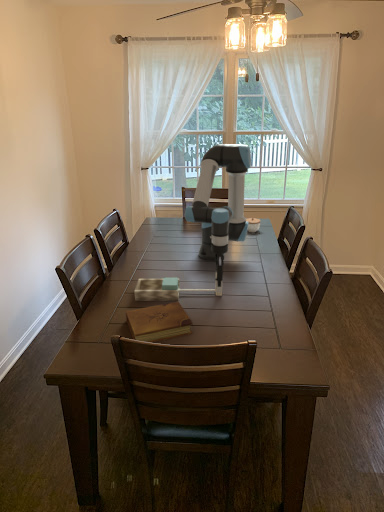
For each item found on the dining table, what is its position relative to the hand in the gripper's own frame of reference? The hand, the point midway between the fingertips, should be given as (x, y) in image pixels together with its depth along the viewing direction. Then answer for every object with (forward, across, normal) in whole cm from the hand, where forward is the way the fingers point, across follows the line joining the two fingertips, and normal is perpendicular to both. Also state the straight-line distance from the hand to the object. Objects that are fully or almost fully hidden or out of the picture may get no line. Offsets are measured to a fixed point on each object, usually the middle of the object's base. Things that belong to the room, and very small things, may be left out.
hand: (218, 288), depth 177 cm
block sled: (+2, 0, -13) cm, 13 cm away
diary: (+3, +28, -26) cm, 38 cm away
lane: (+3, 0, -29) cm, 29 cm away
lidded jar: (+3, -93, +28) cm, 97 cm away
